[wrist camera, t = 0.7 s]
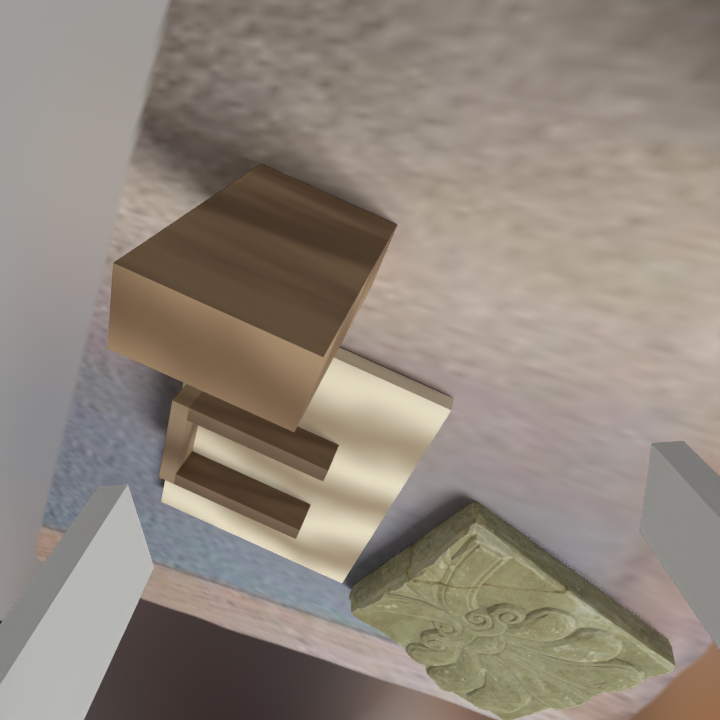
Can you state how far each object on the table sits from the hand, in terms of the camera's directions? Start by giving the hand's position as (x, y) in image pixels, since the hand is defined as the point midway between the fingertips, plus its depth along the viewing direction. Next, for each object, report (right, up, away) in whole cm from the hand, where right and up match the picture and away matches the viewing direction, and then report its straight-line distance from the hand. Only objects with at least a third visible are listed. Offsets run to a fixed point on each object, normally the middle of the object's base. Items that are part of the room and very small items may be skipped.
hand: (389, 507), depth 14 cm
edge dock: (-6, -3, +27) cm, 28 cm away
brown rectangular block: (-3, +11, +17) cm, 20 cm away
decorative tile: (+11, -17, +33) cm, 39 cm away
